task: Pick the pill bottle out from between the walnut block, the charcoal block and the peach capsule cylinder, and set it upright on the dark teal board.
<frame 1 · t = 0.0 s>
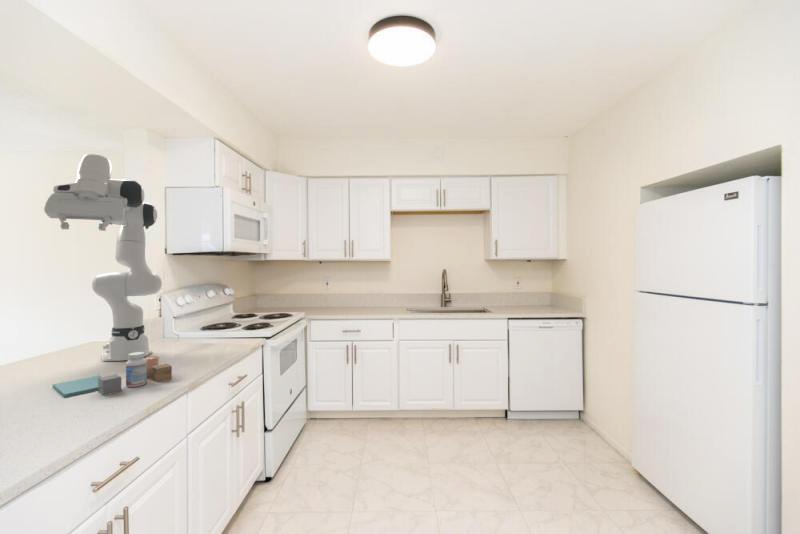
hand: (83, 229, 117), 54 cm above the table, tool tilted 30°, fingers open, 8 cm apart
walnut block: (161, 379, 137), on the table
charcoal block: (109, 391, 123), on the table
teal board: (83, 386, 128), on the table
pill bottle: (136, 385, 131), on the table
peach capsule cylinder: (151, 376, 140), on the table
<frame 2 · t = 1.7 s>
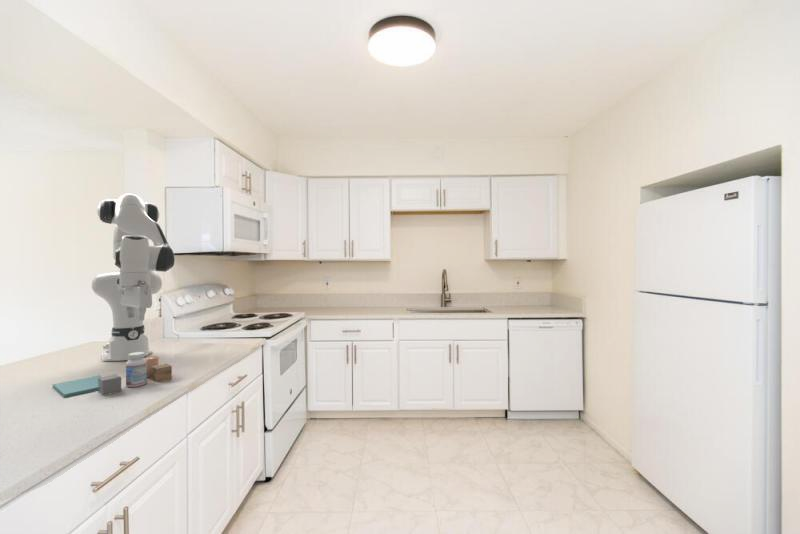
hand: (135, 319, 130), 23 cm above the table, tool pointing down, fingers open, 8 cm apart
nothing on the table moved.
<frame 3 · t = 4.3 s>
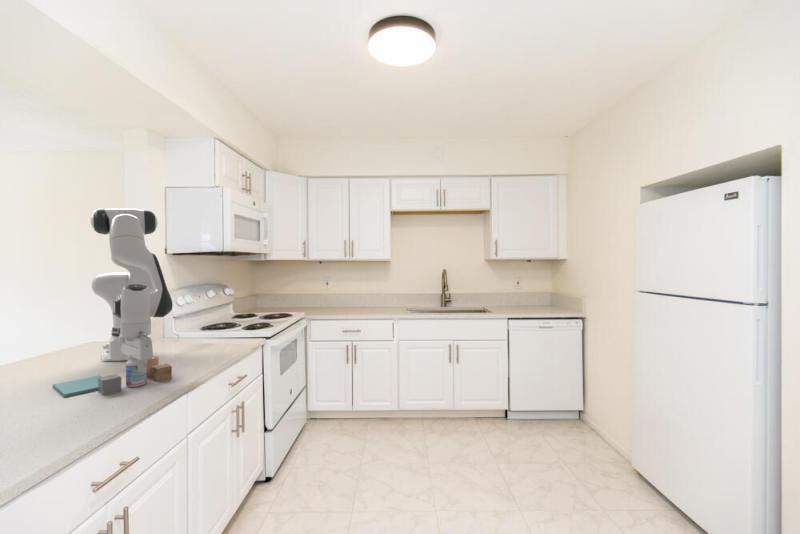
hand: (136, 369, 130), 6 cm above the table, tool pointing down, fingers closed on pill bottle, 6 cm apart
pill bottle: (136, 385, 131), on the table, touching gripper
everything else where it was.
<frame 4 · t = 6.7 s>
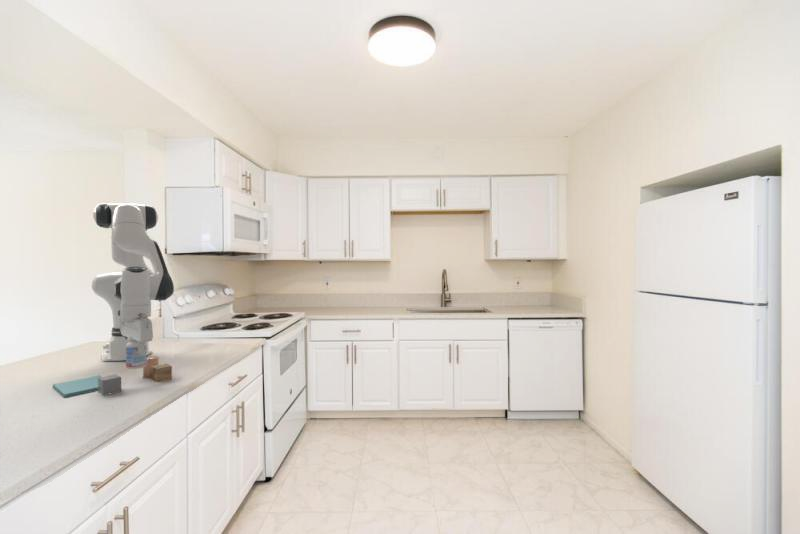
hand: (136, 350, 131), 12 cm above the table, tool pointing down, fingers closed on pill bottle, 6 cm apart
pill bottle: (136, 367, 131), point 6 cm above the table, touching gripper
everything else where it was.
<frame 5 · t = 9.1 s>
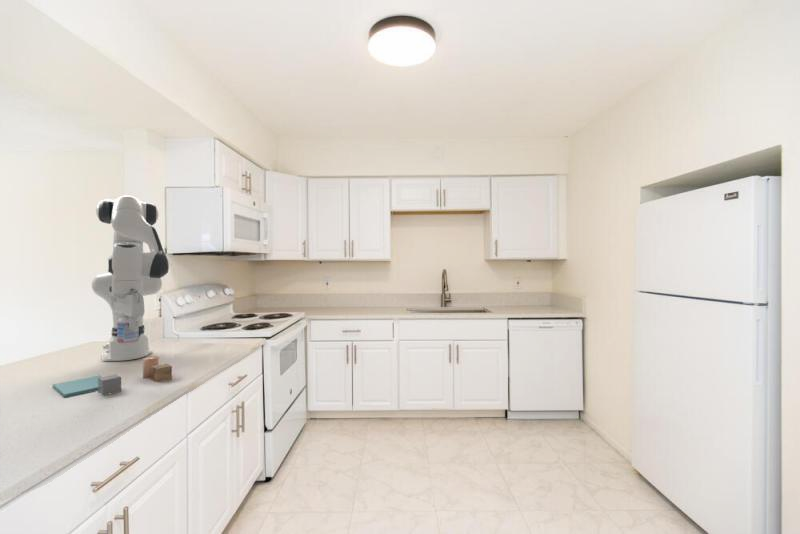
hand: (127, 326, 130), 21 cm above the table, tool pointing down, fingers closed on pill bottle, 6 cm apart
pill bottle: (128, 343, 130), point 15 cm above the table, touching gripper
everything else where it was.
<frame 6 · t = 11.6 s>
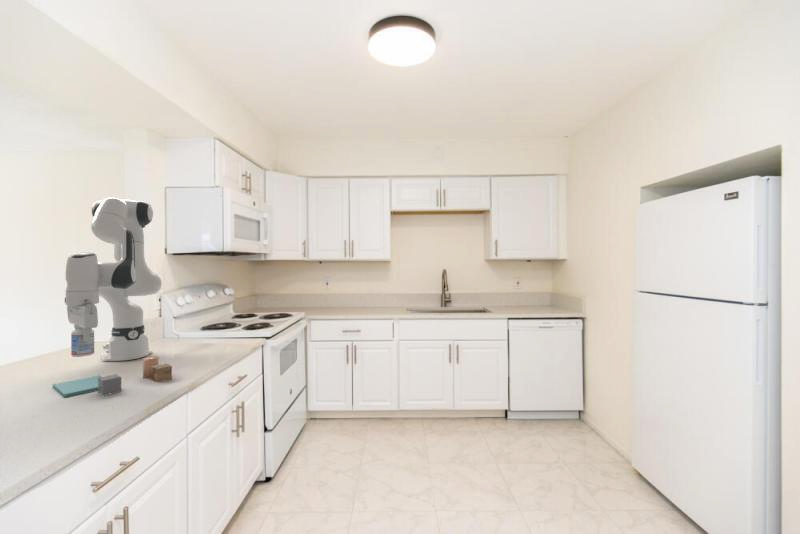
hand: (83, 338, 128), 17 cm above the table, tool pointing down, fingers closed on pill bottle, 6 cm apart
pill bottle: (83, 355, 128), point 11 cm above the table, touching gripper
everything else where it was.
when the fingers open (8 cm above the table, at t = 14.0 s): pill bottle drops 1 cm, resting on teal board.
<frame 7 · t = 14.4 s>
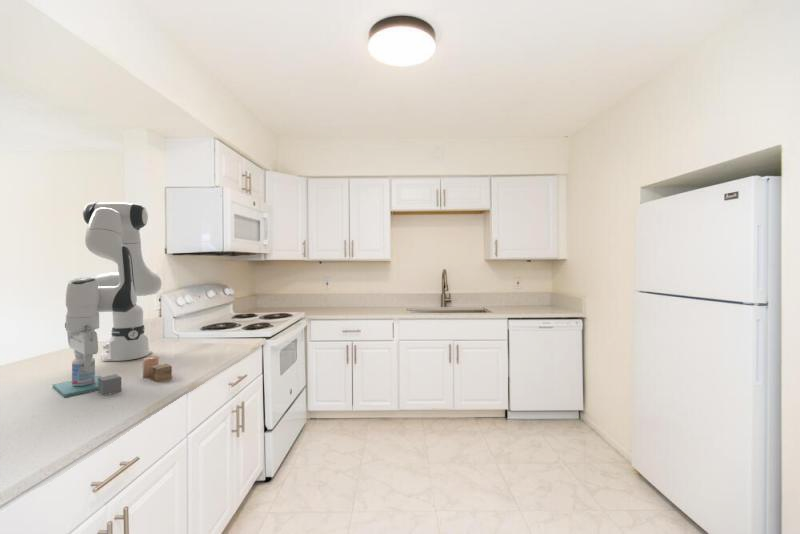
hand: (83, 363, 128), 8 cm above the table, tool pointing down, fingers open, 8 cm apart
pill bottle: (83, 384, 128), point 1 cm above the table, touching teal board
everything else where it was.
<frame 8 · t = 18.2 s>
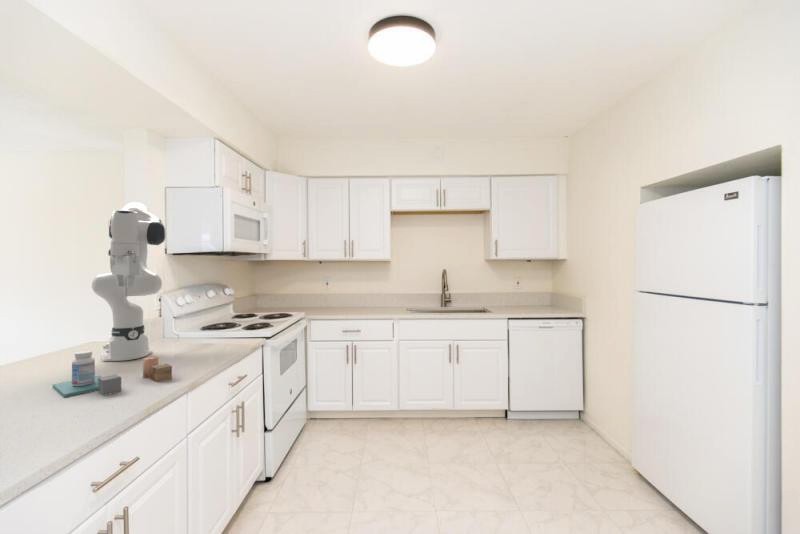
hand: (125, 287, 142), 34 cm above the table, tool pointing down, fingers open, 8 cm apart
nothing on the table moved.
at the end: pill bottle inside the target area on the teal board (0.1 cm from its centre), point 0.8 cm above the teal board's base; pill bottle tilted 0°; the gripper is holding nothing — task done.
